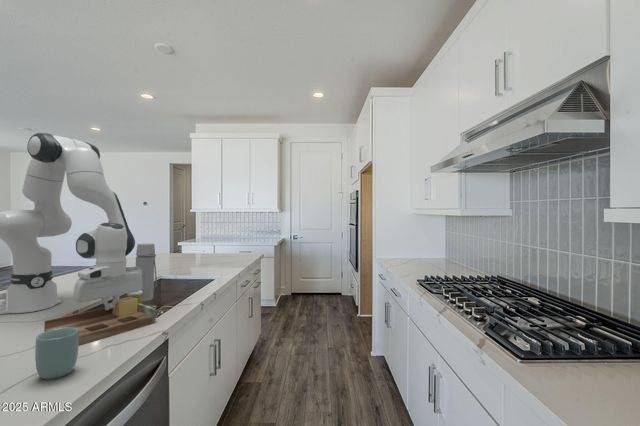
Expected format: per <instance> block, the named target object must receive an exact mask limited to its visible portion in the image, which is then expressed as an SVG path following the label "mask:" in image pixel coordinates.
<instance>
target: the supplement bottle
mask: <svg viewBox="0 0 640 426" xmlns="http://www.w3.org/2000/svg"><path fill="white" fill-rule="evenodd" d="M126 297H134V298H137V299H138V303H140V304H143V302H142V297H143V292H142V290H141V291H138V292H132V293H127V294H126Z"/></svg>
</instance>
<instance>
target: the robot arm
mask: <svg viewBox="0 0 640 426" xmlns="http://www.w3.org/2000/svg"><path fill="white" fill-rule="evenodd" d="M27 152H28V154H29V156H30V157H31V160H30V161H29V164H28V165H27V166H28V167H27V170H26V172H25V178H24V181H23V185H22V195H24V197H25V198H27V199H28V200H30V201H31V202H33V203H34V207H33V209H10V210H2V211H0V240H2V241H3V242H4V243H5V244H6V245H7V246H8V248H9V250H10V252H11V255H12V273H11V274H10V281H9V283H10V284H9V286H8V287H7V289H6V291H5V292H2V293H0V300H1V302H0V315H3V314H5V315H6V314H22V313H31V312H32V313H33V312H37V311H43V310H47V309H49V308H52V307H54V306H57V305H58V304H61V303H63V302H62V299H59V298H58V286H57V283H56V282H54V281H53V275H54V273H53V270H52V252H51V250H49V249H48V248H46V247H44V246H41V245H40V244H39V242H38V238H45V237H48V238H49V237H56V236H60V235H64V234H65V235H66V233H68V232H69V231H70V230H71V228H72V225H73V223H72V222H73V221H72V219H71V217H70V215H69V214H68V213H67V212H65V211H64V208H63V207H62V204H61V203H62V202H61V196H62V195H61V194H62V189H63V184H64V180H65V178H66V183H67V187H68V190H69V191H70V193H71V194H72V195H73V196H75V198H78V199H79V200H81V201H84V202H87V203H90V204H92V205H94V206H97V207H99V208H101V209H102V211H104V212H105V214H106V217H107V220H108V221H109V222H101V223H100V224H99V225H98V226H97V228H94V229H93V230H90V231H88V232H84V233H82V234H81V235H79V236H78V238H76V241H75V251H76V253H77V255H78V256H80V257H81V258H83V259H90V260H91V259H96V260H95V264H94V265H92V266H89V267H87V268H83V269H81V270H79V271H78V272H77V277H78V279H77V280H76V282H75V285H74V288H73V300H74V301H75V302H77V303H80V304H82V303H86V302H90V301H96V300H100V301H101V302H102V303H103V305H104V307H105V310H110V309H115V308H116V303H117V301H118V300H119V299H121V298H120V296H121V295H127V293H132V292H138V291H141V289H142V287H143V285H142V277H141V276H142V269H141V268H140V267H138V266H136V265H134V266H128V267H127V257H126V256H128V255H129V254H131V253H132V251H133V250H134V249H135V246H136V240H135V237H134V235H133V233H132V232H131V229H130V228H129V225H128V222H127V220H126V216H125V214H124V210H123V208H122V204H121V202H120V200H119V198H118V195H117V194H116V192H114V191H113V190H112V189H111V188H110V187H109V185H108V183H107V182H106V179H105V175H104V169H103V166H102V163H101V154H100V150H99V148H98V147H97V146H95V145H94V144H91V143H89V142H84V141H81V140H79V139H76V138H72V137H65V136H61V135H54V134H51V133H46V132H37V133H34V134H33V135H32V136H30V137H29V140H28V142H27ZM65 176H66V177H65ZM138 268H139V269H138ZM111 297H112V298H113V299H112V301H111V302H110V303H109V302H108V301H109V298H111Z"/></svg>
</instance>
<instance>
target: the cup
mask: <svg viewBox="0 0 640 426" xmlns="http://www.w3.org/2000/svg"><path fill="white" fill-rule="evenodd" d="M78 345H79V330H78V329H77V328H75V327H64V328H58V329H53V330H49V331H45V332H44V331H43V332H41V333H39V334H38V335H37V336H36V338H35V350H34V351H35V352H34V353H35V355H34V356H35V360H34V361H35V369H36V372H37V375H38V376H39V377H40V378H41V379H44V380H54V379H58V378H62V377H64V376H66V375H68V374H69V373H70V372H72V371H73V369H74V368H75V366H76V364H77V361H78V356H79V355H78V354H79V346H80V345H79V346H78Z"/></svg>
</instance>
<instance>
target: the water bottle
mask: <svg viewBox="0 0 640 426" xmlns="http://www.w3.org/2000/svg"><path fill="white" fill-rule="evenodd" d="M135 256H136V257H135V266H138V267H140V268H141V269H142V276H141V277H142V285H143V287H142V289H141V290H142V292H143V297H142V303H146V302H150V301H152V300H153V299H154V289H155V288H156V287H157V284H158V280H157V269H156V268H157V265H156V256H157V254H156V249H155V244H154V243H151V242H150V243H149V242H147V243H146V242H145V243H138V244H137V247H136V253H135ZM138 269H139V268H138Z"/></svg>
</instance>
